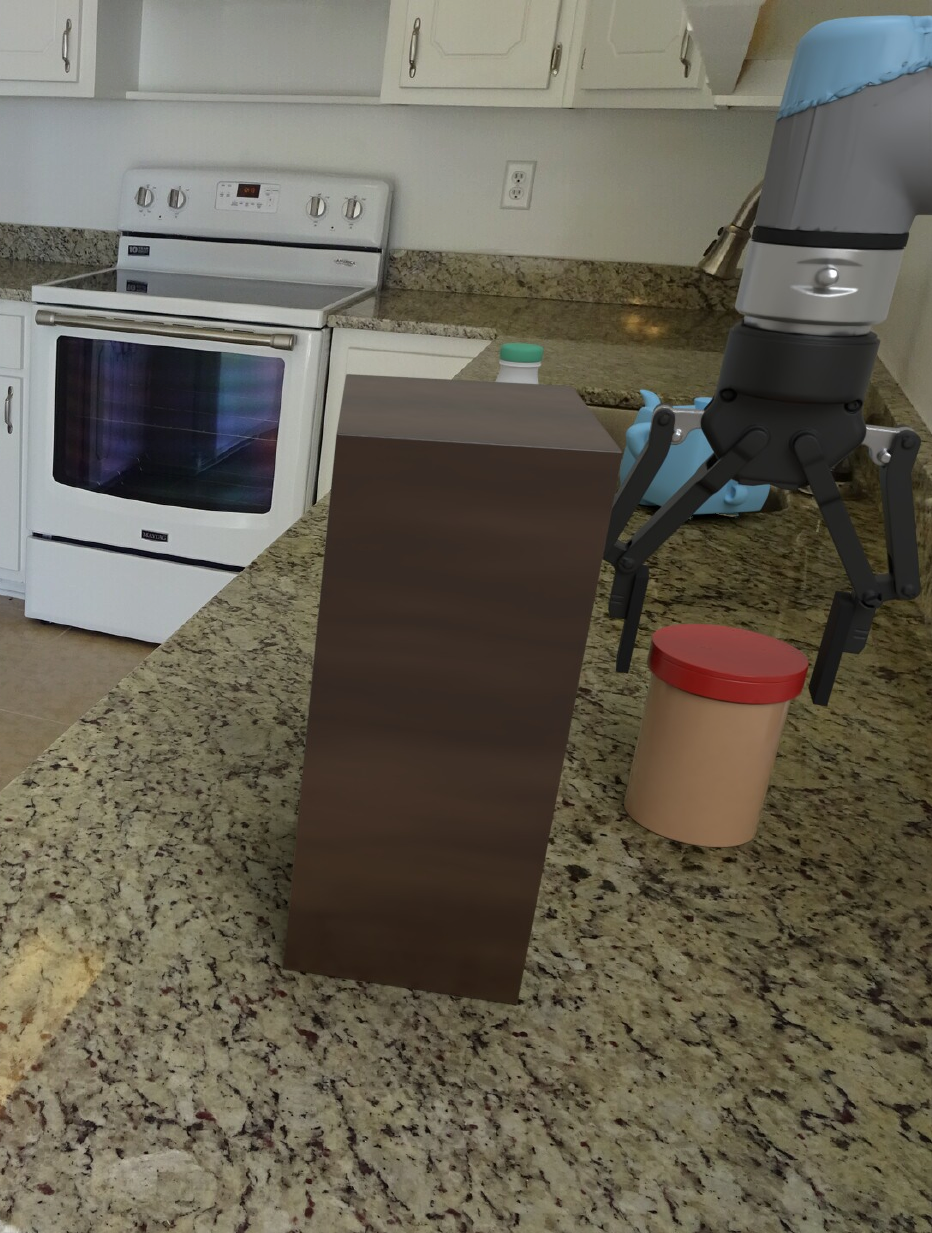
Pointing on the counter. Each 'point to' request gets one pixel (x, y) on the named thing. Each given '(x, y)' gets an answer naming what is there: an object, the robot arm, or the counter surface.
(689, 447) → the teapot
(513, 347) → the milk bottle
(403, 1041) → the counter surface
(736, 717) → the jam jar
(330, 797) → the stand
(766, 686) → the lid
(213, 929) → the counter surface
